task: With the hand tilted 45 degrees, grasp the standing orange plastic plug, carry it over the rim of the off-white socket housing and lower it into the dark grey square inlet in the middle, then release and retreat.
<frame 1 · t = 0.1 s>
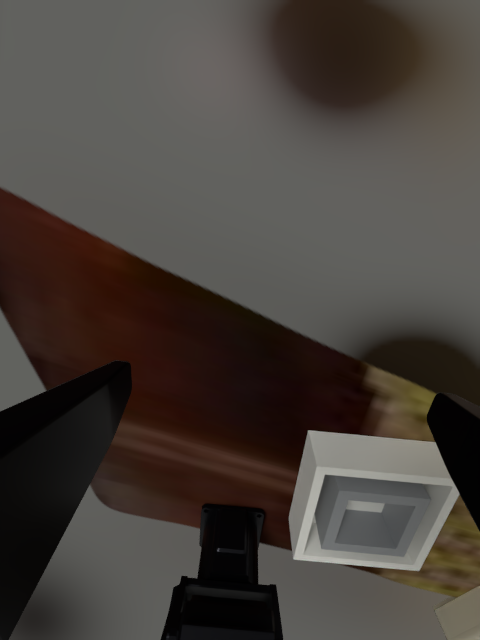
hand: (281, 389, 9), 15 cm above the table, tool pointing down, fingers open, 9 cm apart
socket box: (357, 483, 30), on the table
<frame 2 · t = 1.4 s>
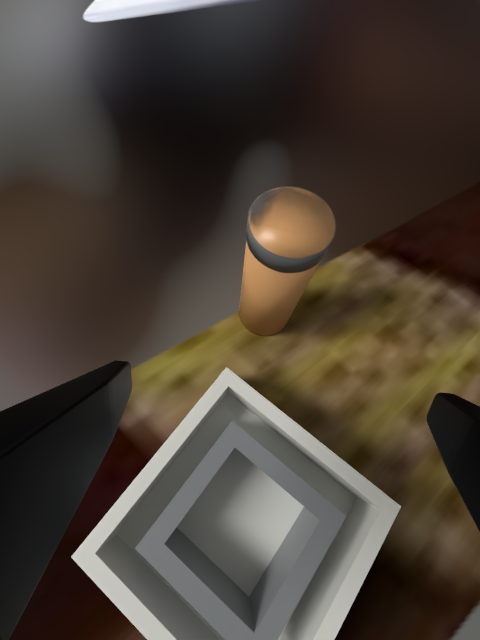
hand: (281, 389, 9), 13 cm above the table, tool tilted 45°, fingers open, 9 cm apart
plug: (264, 312, 24), on the table
socket box: (240, 512, 19), on the table
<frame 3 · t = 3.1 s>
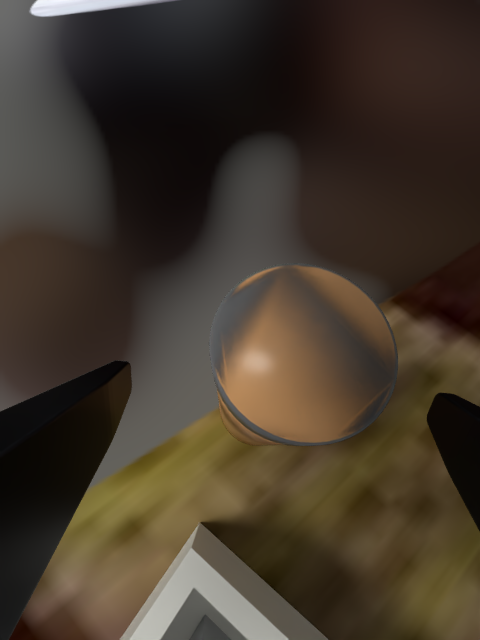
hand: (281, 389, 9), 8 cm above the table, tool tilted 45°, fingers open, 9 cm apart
plug: (256, 406, 17), on the table
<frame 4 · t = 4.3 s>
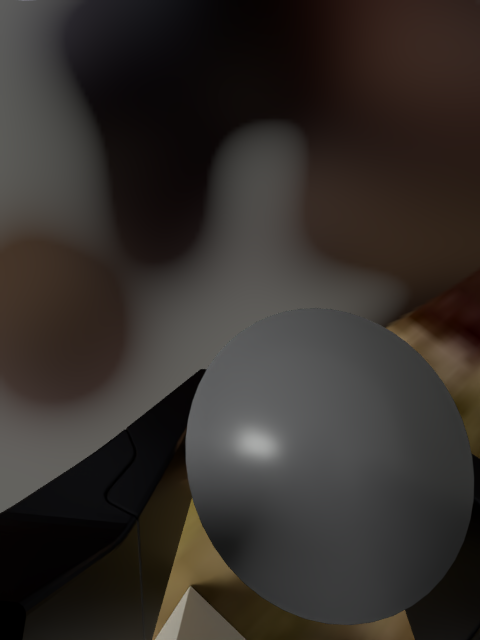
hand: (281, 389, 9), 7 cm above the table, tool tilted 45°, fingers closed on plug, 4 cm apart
plug: (256, 442, 15), on the table, touching gripper
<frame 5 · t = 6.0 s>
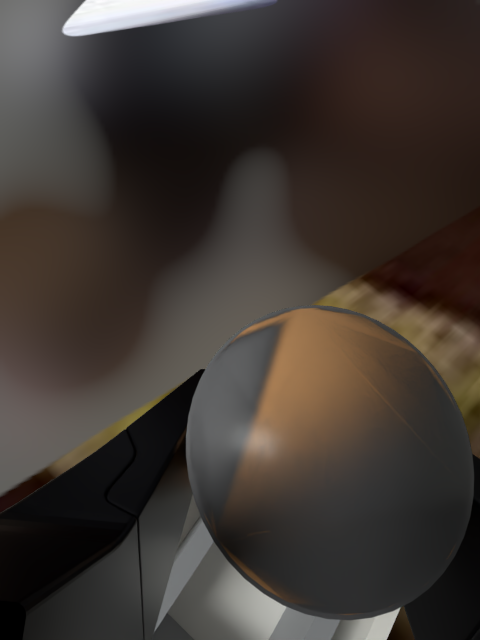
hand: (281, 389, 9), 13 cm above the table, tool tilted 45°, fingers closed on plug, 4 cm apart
plug: (256, 441, 15), point 6 cm above the table, touching gripper
socket box: (232, 585, 18), on the table
when the fingers open (9 cm above the table, at t = 8.0 s): plug drops 1 cm, resting on socket box.
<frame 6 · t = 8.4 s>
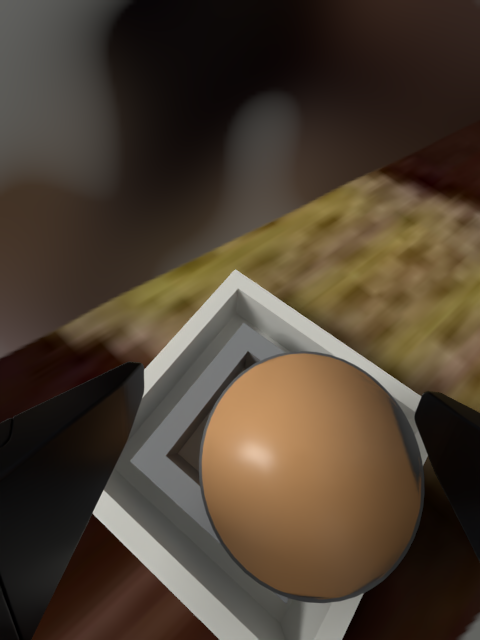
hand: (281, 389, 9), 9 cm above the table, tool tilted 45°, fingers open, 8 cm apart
plug: (254, 443, 16), point 1 cm above the table, touching socket box
socket box: (253, 442, 17), on the table
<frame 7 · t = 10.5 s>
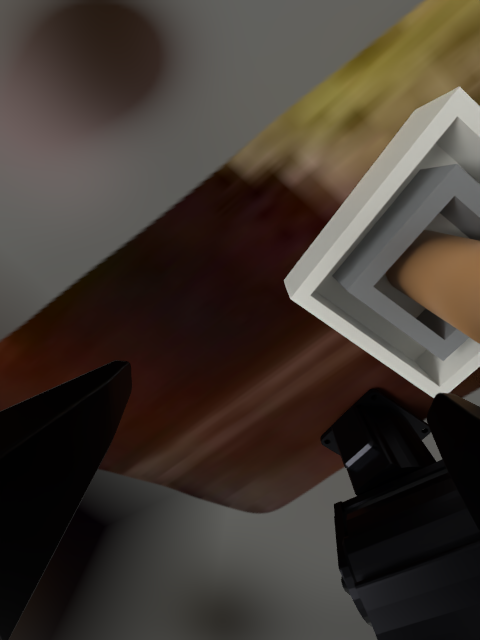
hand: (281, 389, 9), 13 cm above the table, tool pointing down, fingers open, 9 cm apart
plug: (417, 262, 20), point 1 cm above the table, touching socket box
socket box: (411, 259, 20), on the table
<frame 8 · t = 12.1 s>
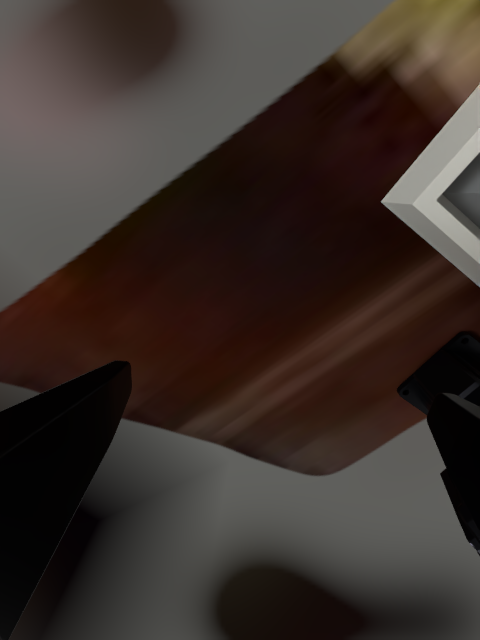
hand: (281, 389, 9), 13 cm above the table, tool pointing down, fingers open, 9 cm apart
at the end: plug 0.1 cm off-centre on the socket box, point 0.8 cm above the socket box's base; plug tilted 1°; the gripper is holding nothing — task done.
